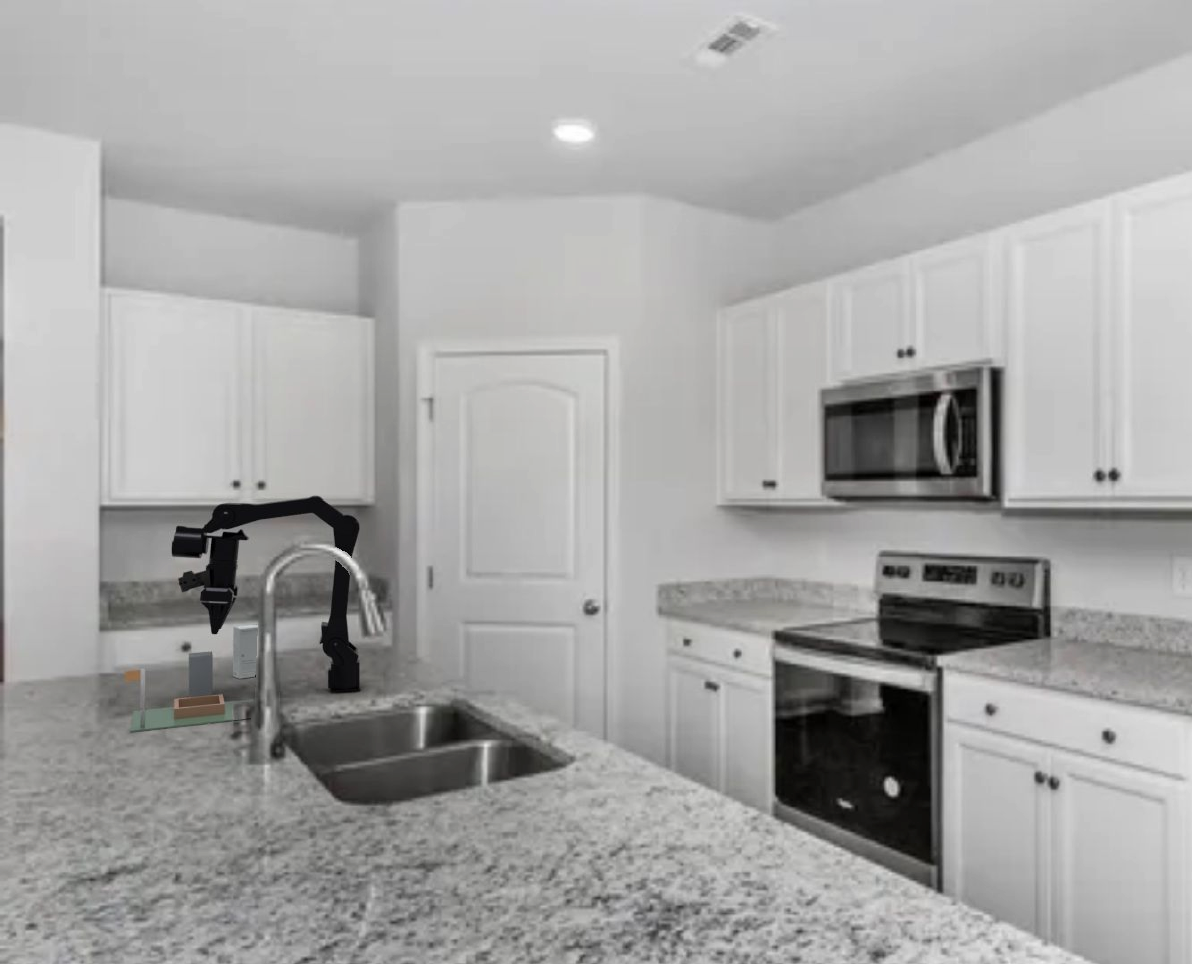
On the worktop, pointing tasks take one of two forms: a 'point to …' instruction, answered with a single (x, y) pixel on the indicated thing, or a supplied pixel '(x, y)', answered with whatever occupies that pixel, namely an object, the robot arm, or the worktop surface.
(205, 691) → the grey block
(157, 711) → the green base plate
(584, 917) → the worktop surface
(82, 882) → the worktop surface
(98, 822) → the worktop surface
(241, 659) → the skincare box
